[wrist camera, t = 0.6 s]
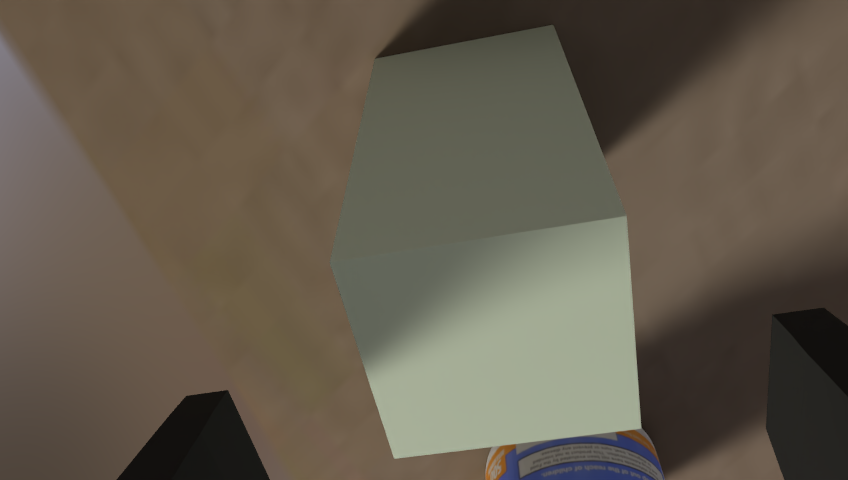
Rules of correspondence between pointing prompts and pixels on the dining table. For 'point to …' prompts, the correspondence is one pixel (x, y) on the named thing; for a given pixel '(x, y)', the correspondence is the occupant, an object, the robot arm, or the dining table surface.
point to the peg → (486, 251)
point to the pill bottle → (578, 458)
